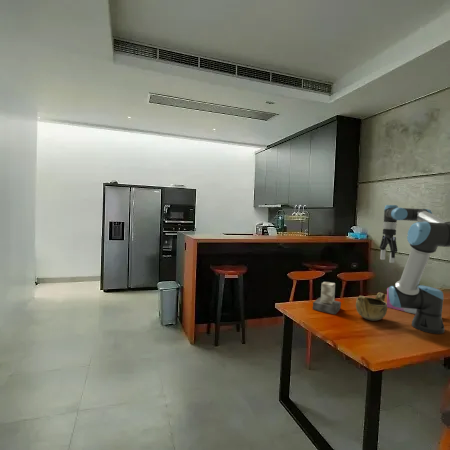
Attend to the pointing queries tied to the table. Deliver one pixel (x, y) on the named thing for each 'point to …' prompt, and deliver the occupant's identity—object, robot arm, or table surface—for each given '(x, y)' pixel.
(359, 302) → the khaki rounded piece
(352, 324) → the table surface
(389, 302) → the gum box
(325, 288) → the birch block
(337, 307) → the charcoal plinth
